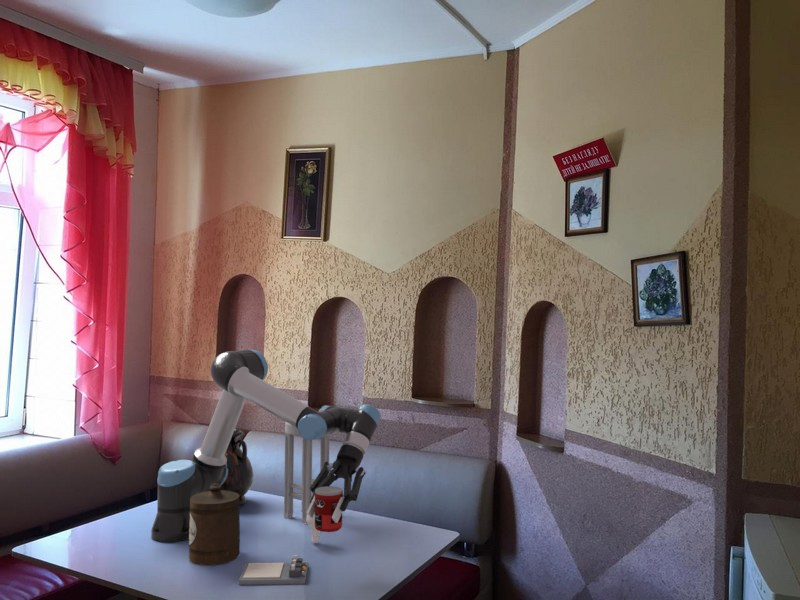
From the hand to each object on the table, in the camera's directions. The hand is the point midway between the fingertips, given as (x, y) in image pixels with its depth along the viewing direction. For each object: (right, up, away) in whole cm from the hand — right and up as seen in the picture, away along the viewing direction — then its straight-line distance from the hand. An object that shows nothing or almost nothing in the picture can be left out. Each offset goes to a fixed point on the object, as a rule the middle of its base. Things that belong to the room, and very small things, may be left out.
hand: (321, 517), depth 186 cm
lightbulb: (-5, -17, +25) cm, 31 cm away
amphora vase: (-45, -17, +66) cm, 82 cm away
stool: (-12, -17, +52) cm, 56 cm away
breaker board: (-13, -16, 0) cm, 21 cm away
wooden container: (-34, -16, +13) cm, 40 cm away
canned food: (+2, -4, +3) cm, 5 cm away
